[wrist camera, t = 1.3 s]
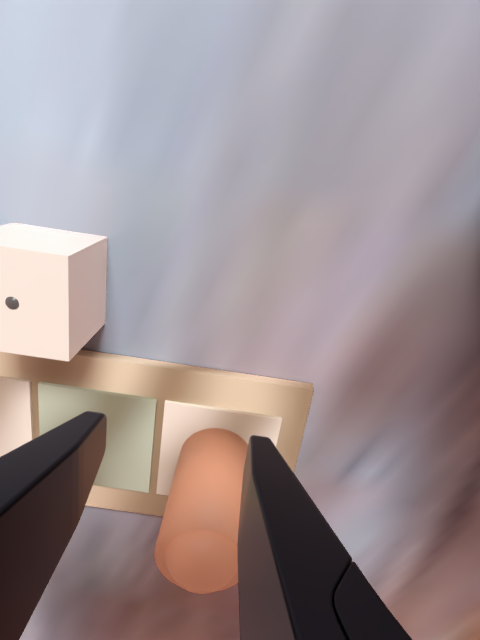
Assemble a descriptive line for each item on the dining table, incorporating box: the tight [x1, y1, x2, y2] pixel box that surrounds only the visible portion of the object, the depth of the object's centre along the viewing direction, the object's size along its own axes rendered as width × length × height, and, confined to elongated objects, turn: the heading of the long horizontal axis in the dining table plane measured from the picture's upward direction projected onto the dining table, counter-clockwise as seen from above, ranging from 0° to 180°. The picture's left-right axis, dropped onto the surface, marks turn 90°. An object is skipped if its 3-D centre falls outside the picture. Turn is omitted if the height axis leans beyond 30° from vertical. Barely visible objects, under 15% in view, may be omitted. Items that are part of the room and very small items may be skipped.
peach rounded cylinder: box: [154, 428, 248, 594], centre depth 17 cm, size 4×4×6 cm
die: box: [0, 223, 108, 362], centre depth 16 cm, size 4×4×4 cm
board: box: [0, 349, 314, 516], centre depth 20 cm, size 26×9×1 cm, turn 82°
